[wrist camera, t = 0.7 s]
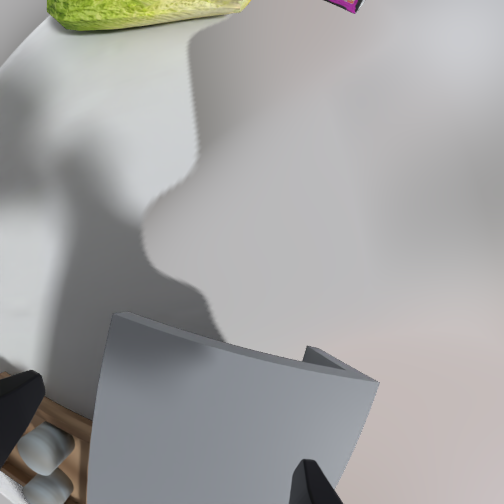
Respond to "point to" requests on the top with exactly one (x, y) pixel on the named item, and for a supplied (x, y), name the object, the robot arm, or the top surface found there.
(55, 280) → the top surface
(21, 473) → the walnut tray
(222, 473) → the grey piece
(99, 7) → the lettuce
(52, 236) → the top surface
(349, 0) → the candy bar box
